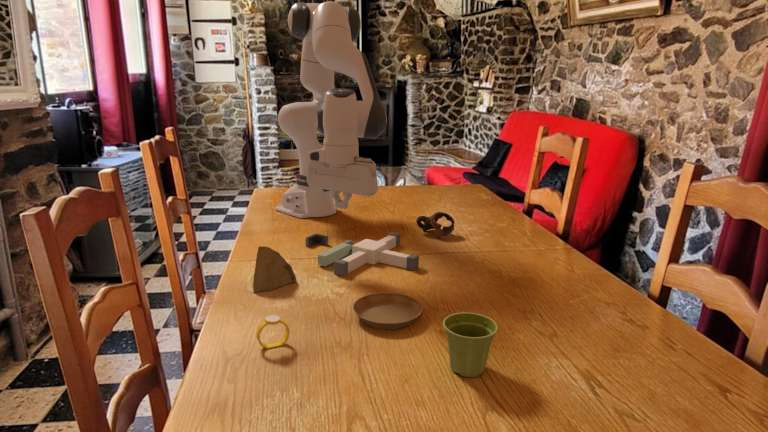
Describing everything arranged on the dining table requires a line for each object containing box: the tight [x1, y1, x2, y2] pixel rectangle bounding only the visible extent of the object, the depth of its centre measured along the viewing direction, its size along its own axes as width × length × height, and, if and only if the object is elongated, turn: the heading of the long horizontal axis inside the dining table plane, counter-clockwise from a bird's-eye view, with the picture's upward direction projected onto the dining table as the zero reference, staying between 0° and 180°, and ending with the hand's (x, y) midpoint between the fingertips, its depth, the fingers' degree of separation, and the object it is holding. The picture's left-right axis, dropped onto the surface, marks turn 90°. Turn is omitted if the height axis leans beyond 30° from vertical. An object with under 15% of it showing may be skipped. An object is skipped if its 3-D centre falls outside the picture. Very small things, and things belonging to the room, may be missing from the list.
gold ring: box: [255, 314, 291, 350], centre depth 98 cm, size 6×3×6 cm, turn 115°
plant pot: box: [442, 312, 499, 378], centre depth 91 cm, size 9×9×9 cm
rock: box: [252, 245, 298, 294], centre depth 124 cm, size 11×9×10 cm
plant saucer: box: [352, 292, 423, 330], centre depth 110 cm, size 15×15×3 cm
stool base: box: [333, 231, 420, 277], centre depth 141 cm, size 20×29×4 cm
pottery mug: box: [415, 211, 455, 240], centre depth 164 cm, size 12×10×8 cm
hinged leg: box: [317, 239, 354, 267], centre depth 142 cm, size 14×2×3 cm, turn 149°
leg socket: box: [305, 233, 329, 248], centre depth 153 cm, size 5×5×3 cm
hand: (341, 208), depth 134 cm, fingers closed
